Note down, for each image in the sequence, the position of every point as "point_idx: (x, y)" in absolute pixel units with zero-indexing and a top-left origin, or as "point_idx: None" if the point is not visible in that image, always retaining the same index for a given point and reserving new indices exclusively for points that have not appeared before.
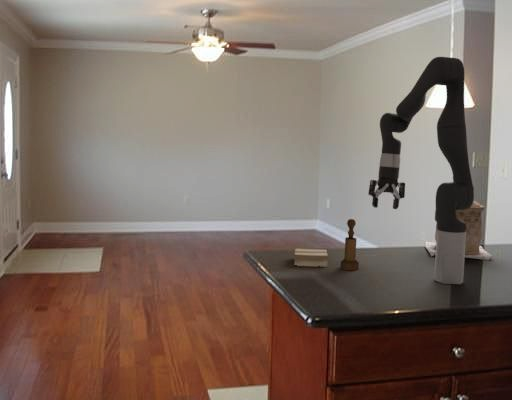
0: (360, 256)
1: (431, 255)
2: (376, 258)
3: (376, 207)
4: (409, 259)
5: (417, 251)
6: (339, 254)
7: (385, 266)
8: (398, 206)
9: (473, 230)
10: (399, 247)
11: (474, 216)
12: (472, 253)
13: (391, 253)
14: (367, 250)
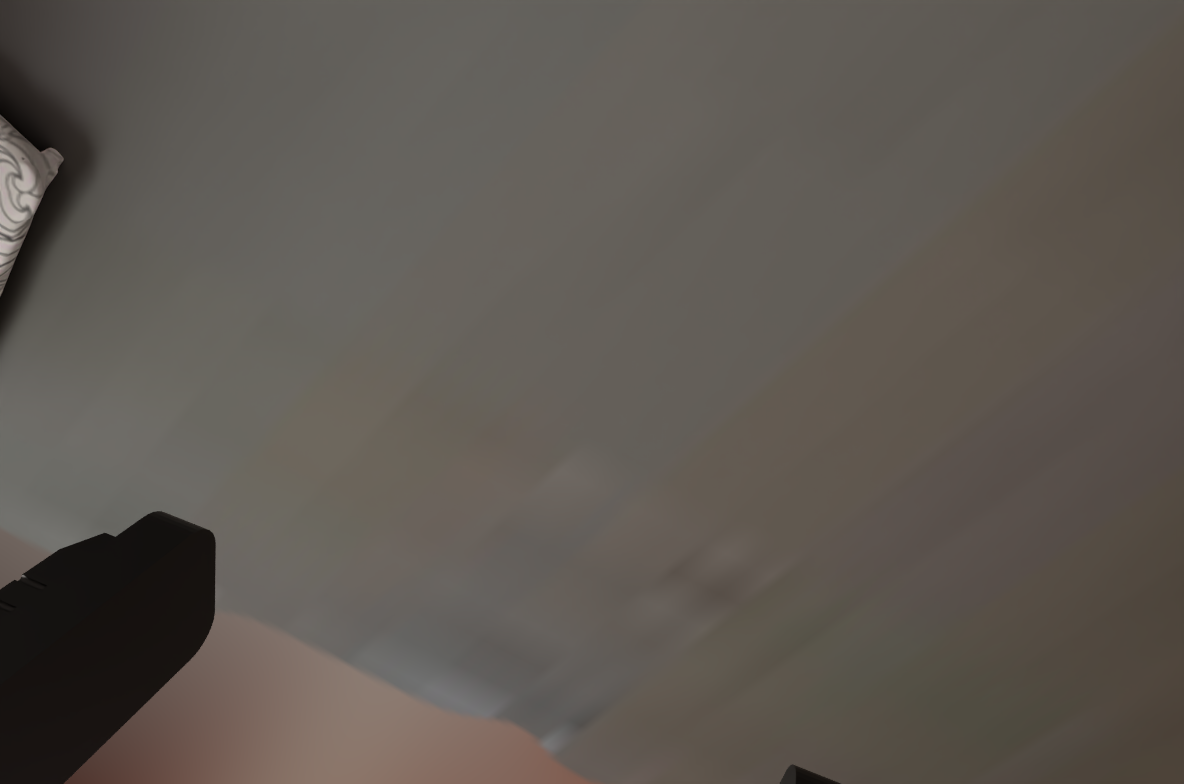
0: (735, 505)
1: (54, 165)
2: (653, 366)
3: (810, 774)
4: (359, 165)
5: (76, 393)
6: (856, 657)
7: (880, 3)
8: (63, 548)
9: None
10: None
11: None
12: None
13: (357, 451)
14: (485, 635)
